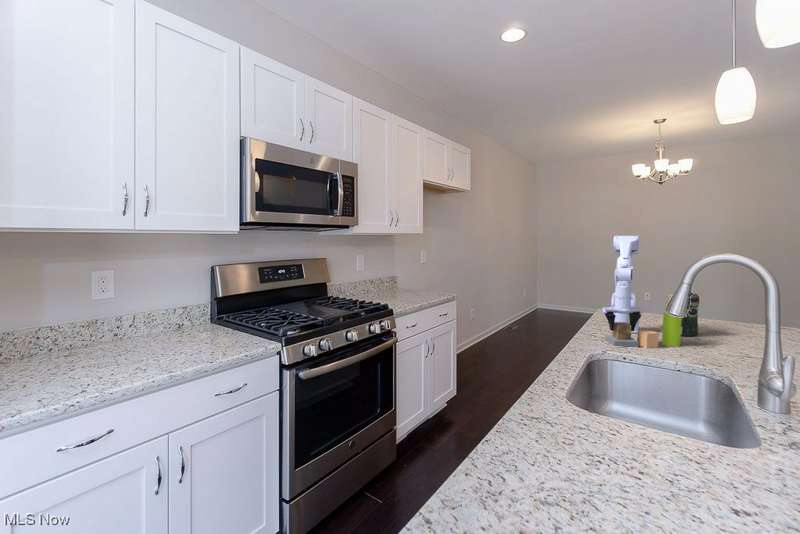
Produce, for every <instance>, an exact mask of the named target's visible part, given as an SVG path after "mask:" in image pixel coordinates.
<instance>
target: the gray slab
mask: <svg viewBox="0 0 800 534" xmlns="http://www.w3.org/2000/svg"><path fill="white" fill-rule="evenodd" d="M606 341H607V342H608V343H607V342H606ZM604 342H606V343H607V344H609V343H610V344H612V345H613V346H621V347H620V348H628V347H640V346H639V341H637V339H635V338H634V337H631V340H617V339H616V338H614V337H612V334H610V335H609V334H605V335H604ZM610 344H609V345H610ZM612 345H611V346H612ZM613 346H612V347H613ZM622 346H623V347H622Z"/></svg>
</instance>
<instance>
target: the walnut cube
mask: <svg viewBox="0 0 800 534" xmlns="http://www.w3.org/2000/svg"><path fill="white" fill-rule="evenodd" d="M611 333H612V334H611V335H612V337H614V338H616V339H617V340H631V338H632V333H631V325H630V324H628V323H626V322H614V331H611Z"/></svg>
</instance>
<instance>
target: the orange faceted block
mask: <svg viewBox="0 0 800 534" xmlns="http://www.w3.org/2000/svg"><path fill="white" fill-rule="evenodd" d="M636 334H637V336H636V337H637V339H636V340H637V341H639V345H640V346H639V347H642V346H643V347H642V348H644V347H646V348H645V349H658V348H659V335H660V334H659V332H657V331H654V330H650V329H641V330H640V329H638V333H636Z"/></svg>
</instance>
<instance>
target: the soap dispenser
mask: <svg viewBox="0 0 800 534" xmlns="http://www.w3.org/2000/svg"><path fill="white" fill-rule="evenodd" d="M672 295H673V294H670V295H669V298H670V299H671V297H672ZM665 311H666V310H665ZM665 311H664V310H663V314H662V315H663V316H662V317H663V319H662V337H661V339H662V340H661V343H662V345H665V346H669V347H679V346H681V335H680V332H681V318H679V317H673V316H670V315H668V314H666V312H665Z"/></svg>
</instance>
